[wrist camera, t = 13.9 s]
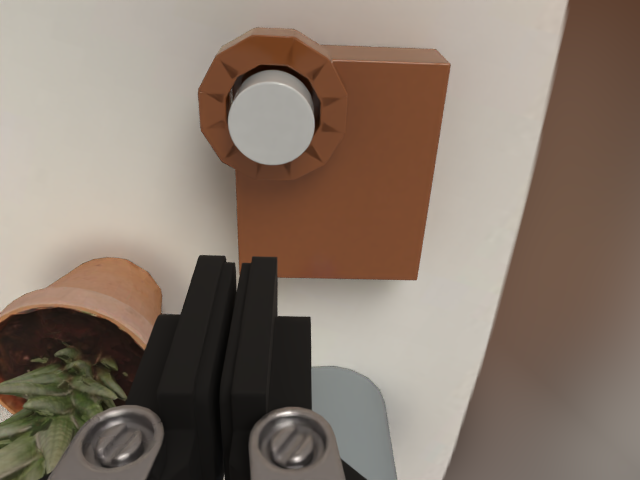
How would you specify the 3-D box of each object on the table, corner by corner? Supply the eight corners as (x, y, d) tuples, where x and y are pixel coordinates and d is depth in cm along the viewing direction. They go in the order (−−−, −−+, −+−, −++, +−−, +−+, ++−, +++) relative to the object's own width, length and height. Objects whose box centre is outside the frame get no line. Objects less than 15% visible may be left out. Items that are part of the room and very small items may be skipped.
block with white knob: (211, 13, 27) (193, 32, 23) (440, 22, 27) (466, 43, 23) (224, 247, 34) (212, 296, 29) (408, 251, 34) (423, 300, 30)
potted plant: (33, 215, 32) (-491, 802, 11) (197, 247, 34) (12, 824, 12) (35, 344, 37) (-324, 922, 16) (178, 366, 38) (23, 928, 17)
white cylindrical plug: (231, 67, 24) (225, 80, 22) (315, 70, 24) (316, 83, 22) (234, 147, 26) (229, 164, 24) (312, 149, 26) (313, 167, 24)
